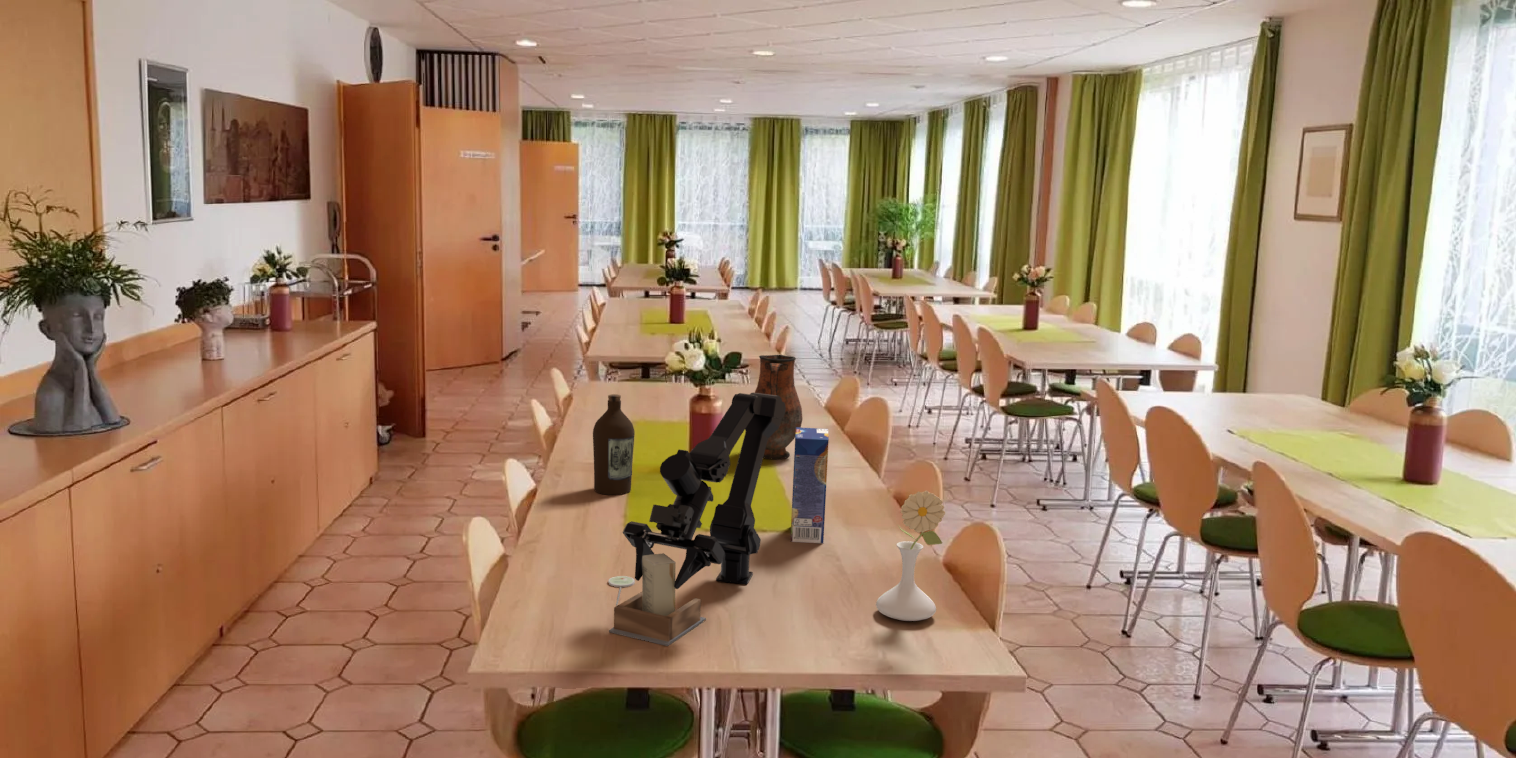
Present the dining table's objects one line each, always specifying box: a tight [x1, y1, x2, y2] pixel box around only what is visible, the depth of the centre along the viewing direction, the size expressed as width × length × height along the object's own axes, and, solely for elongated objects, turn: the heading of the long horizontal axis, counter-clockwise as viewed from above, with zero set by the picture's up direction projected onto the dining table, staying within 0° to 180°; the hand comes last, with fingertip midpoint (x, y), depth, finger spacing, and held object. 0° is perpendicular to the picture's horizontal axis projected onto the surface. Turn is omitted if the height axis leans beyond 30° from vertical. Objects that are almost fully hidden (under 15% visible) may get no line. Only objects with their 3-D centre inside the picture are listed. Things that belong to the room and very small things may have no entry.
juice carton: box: [789, 427, 830, 544], centre depth 263 cm, size 12×8×24 cm, turn 177°
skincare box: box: [641, 552, 676, 616], centre depth 206 cm, size 6×4×12 cm
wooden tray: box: [613, 591, 702, 642], centre depth 206 cm, size 12×11×4 cm
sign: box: [607, 575, 636, 607], centre depth 223 cm, size 5×1×15 cm
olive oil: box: [592, 393, 635, 496], centre depth 294 cm, size 11×11×25 cm
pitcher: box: [754, 354, 803, 461], centre depth 337 cm, size 17×21×30 cm
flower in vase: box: [875, 490, 946, 622], centre depth 214 cm, size 13×11×25 cm
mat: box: [608, 616, 707, 647], centre depth 207 cm, size 14×12×1 cm
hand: (655, 583), depth 204 cm, fingers open, 8 cm apart
